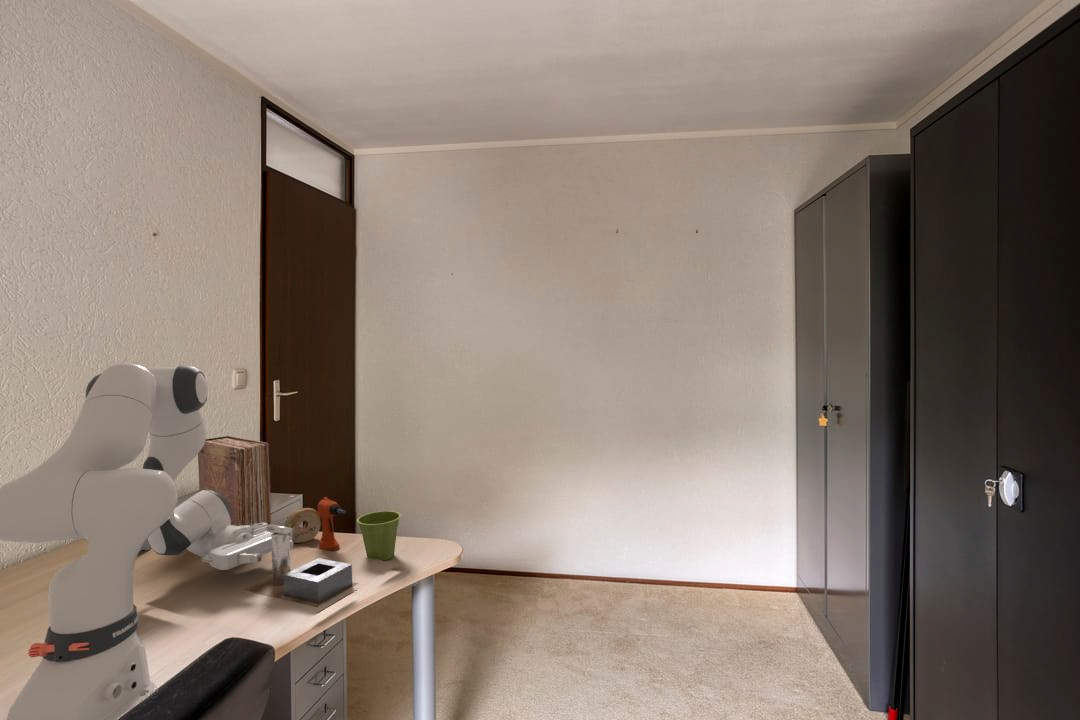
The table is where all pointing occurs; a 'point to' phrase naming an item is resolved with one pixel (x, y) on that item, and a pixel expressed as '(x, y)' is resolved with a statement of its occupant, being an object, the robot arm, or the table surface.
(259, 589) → the beige thin flat slab
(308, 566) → the square socket block
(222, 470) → the book
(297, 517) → the stone disc
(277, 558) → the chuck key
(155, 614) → the table surface
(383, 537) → the plant pot
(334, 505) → the toy drill
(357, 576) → the table surface
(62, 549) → the table surface
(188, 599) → the table surface
